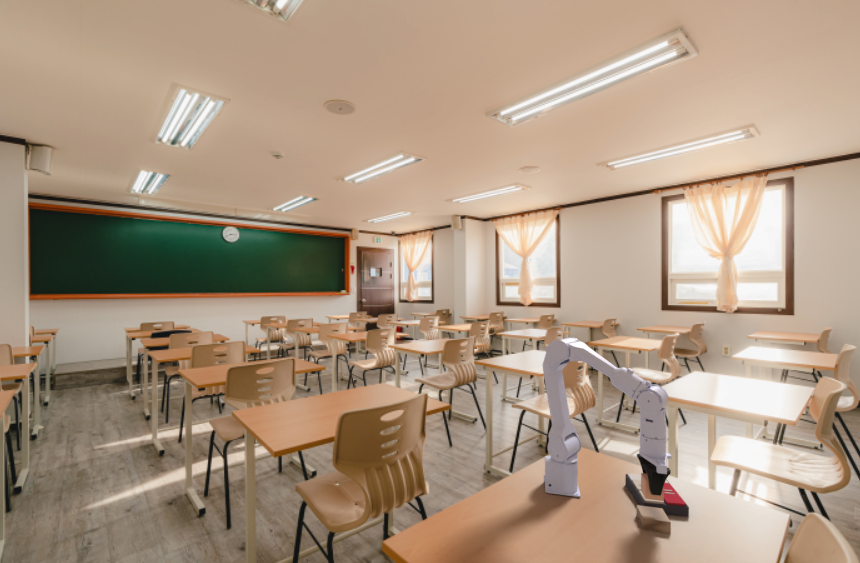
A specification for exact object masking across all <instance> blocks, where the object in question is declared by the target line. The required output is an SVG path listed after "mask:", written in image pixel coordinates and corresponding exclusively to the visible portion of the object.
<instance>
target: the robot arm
mask: <svg viewBox="0 0 860 563" xmlns="http://www.w3.org/2000/svg"><path fill="white" fill-rule="evenodd" d="M569 362H583V363H584V364H587V365H588V366H590V367H591V368H593V369H595V370H596V371H598V372H600V373H601V374H603V375H605V376H607V377H608V378H609V379H610V380H609V381H610V384H611V385H612V386H613V387H615V388H616V389H617V390H619V391H620V392H622V393H624V394H625V395H627V396H628V397H629V398H631V399H632V400H634V401H635V402H636V404H637V406H638V408H639V450H638V453H637V454H636V457H637V459H638V461H639V464H640V467H641V470H642V473H645V474H647V476H648V481H649V488H650V492H651V494H652V495H659V496H661V493H662V490H663V486H664V483H665V481H666V479H667V478H669V476H670V475H671V469H670V467H668V465H667V460H670V459H672V455H671V453H669V452H667V419H666V406H667V404H668V403H669V395H668V392H667V391H666V389H664V388H663V387H662V386H661V385H659V384H655V383H654V384H652V382H651V381H650V380H645V379H643V378H642V377H640V376H639V375H637V374H636V373H634V371H635V370H634V369H632V368H631V367H629V368H627V367H624V366H623V367H617V366H615V365H614V364H613V363H611V362H610V361H609V360H607V359H606V358H604V357H603V356H602V355H600V354H599V353H597V352H596V351H595V350H593V349H592V348H591V347H590V346H588V345H587V344H586V343H585V342H583V341H580V340H579V339H578V338H576V337H573V336H569V337H566V338H560V339H553V340H552V341H551V342H549V343H548V345H547V346H545V355H544V359H543V362H542V371H543V378H544V383H545V390H546V397H547V401H548V402H547V403H548V409H549V414H550V421H551V422H550V423H551V428H550V429H549V432H548V443H547V451H548V454H549V455H545V456H544V474H543V482H544V490H545V493H546V494H552V495H553V494H554V495H561V496H568V497H575V498H581V492H580V487H579V484H578V483H579V480H578V479H579V478H578V477H579V471H578V470H579V468H578V466H579V465H578V464H579V459H578V453H580V451H581V450H582V444H583V443H582V440H581V438H580V437H579V435H578V433H577V428H576V427H575V426H574V425H573V424H572V421H571V415H570V410H569V409H570V408H569V403H568V398H567V392H566V387H565V380H564V374H563V370H564V368H565V367H566V366H567V365H568V364H569ZM667 480H668V479H667Z"/></svg>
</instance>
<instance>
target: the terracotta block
mask: <svg viewBox="0 0 860 563" xmlns="http://www.w3.org/2000/svg"><path fill="white" fill-rule="evenodd" d="M640 474H641V491H642V493H643V495H644V497H645V499H651V500H659V501H664V486H663V490H662V493H661V496H659V495H652V494H651V492H650V488H649V481H648V476H647V474H645V473H643V472H641V473H640Z"/></svg>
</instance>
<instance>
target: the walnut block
mask: <svg viewBox="0 0 860 563" xmlns="http://www.w3.org/2000/svg"><path fill="white" fill-rule="evenodd" d="M636 517H637V520H638V522H639V523H640V525H641V528H642V530H645V531H652V532H659V533H667V534H671V532H672V528H671V526H672V525H671V524H672V523H671V520H670V519H669V517H668V515H666V514H665V512H664V510H663V509H662V508H655V507H648V506H640V505H638V504H636Z"/></svg>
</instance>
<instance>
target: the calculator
mask: <svg viewBox="0 0 860 563" xmlns="http://www.w3.org/2000/svg"><path fill="white" fill-rule="evenodd" d="M624 482H625V486H626V488H627V490H628V491H629V492H630V493H631V495H632V496H633V499H634V500H635V502H636V503H637V505H640V506H648V507H655V508H662V509H663V510H664V512H665V514H666V515H667V516H672V517H673V516H674V517H684V518H689V517H690V507H689V505H688V504H687V503H686V501H685V500H684V499H683V498H682V497H681V495H680V494H679V492H677V490H676V489H675V488H674V487H673V485H672V484H671V483H670V482H669V481H668V479H666V481H665V483H664V501H659V500H651V499H645V497H644V495H643V493H642V491H641V473H640V474H638V473H626V474H625V480H624Z"/></svg>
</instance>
